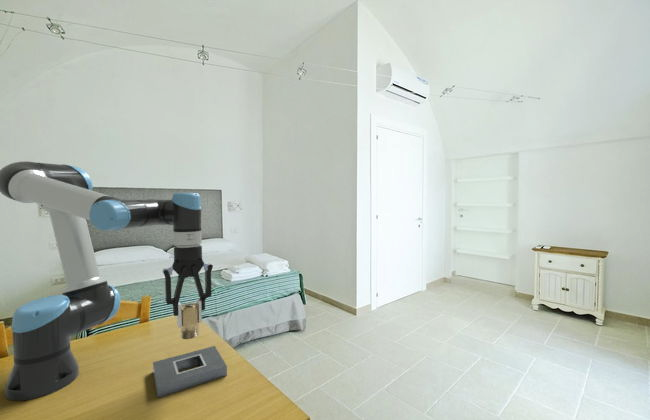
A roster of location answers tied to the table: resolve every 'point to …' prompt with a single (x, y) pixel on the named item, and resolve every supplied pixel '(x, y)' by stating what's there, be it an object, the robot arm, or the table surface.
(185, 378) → the plate
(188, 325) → the brass domed cylinder
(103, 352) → the table surface
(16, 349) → the robot arm
